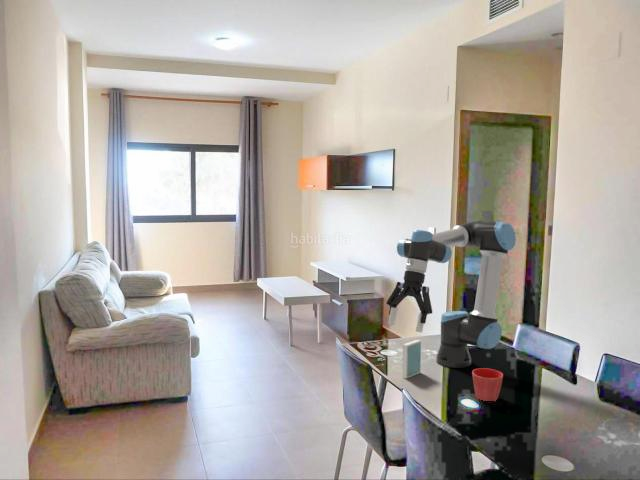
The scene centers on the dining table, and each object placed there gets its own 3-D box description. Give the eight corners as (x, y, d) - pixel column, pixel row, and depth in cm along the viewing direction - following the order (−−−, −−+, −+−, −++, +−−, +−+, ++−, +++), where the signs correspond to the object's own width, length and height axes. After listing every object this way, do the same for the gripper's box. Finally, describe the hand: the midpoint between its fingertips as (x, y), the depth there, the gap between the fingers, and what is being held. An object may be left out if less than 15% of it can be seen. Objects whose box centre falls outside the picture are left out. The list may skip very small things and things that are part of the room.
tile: (416, 371, 218) (417, 339, 216) (421, 372, 216) (421, 340, 215) (402, 377, 211) (402, 344, 209) (406, 378, 209) (407, 345, 208)
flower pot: (504, 405, 183) (505, 378, 182) (472, 402, 185) (473, 376, 184) (500, 393, 193) (501, 369, 192) (470, 391, 195) (470, 367, 194)
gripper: (384, 266, 196) (373, 320, 194) (436, 273, 176) (424, 334, 174) (397, 269, 200) (386, 323, 199) (448, 277, 181) (438, 336, 179)
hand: (404, 328), depth 187 cm, fingers open, 13 cm apart
